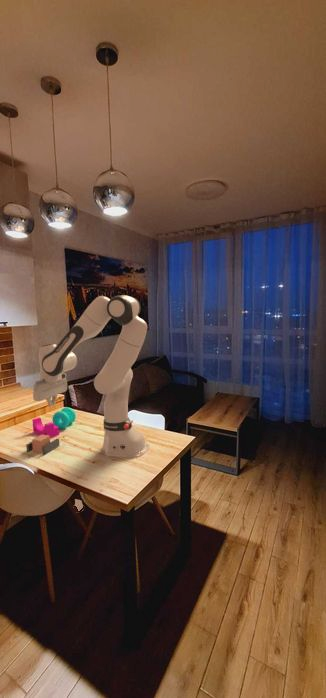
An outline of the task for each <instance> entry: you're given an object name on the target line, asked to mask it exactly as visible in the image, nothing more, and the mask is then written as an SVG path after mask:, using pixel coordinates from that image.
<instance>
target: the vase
mask: <svg viewBox="0 0 326 698" xmlns="http://www.w3.org/2000/svg"><path fill="white" fill-rule="evenodd" d="M74 506H76V507H77V509H78V511H80V510H81V509H82V508H83V506H84V504H83V501H82V500H80V499H76V498H75V499H74Z"/></svg>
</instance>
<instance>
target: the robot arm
mask: <svg viewBox="0 0 326 698" xmlns="http://www.w3.org/2000/svg"><path fill="white" fill-rule="evenodd" d="M141 310H142V307H141V303H140V301H139V300H138V299H137V298H136V297H134V296H129V295H125V294H122V295H115V296H113V297H112V298H110V297H107V296H105V295H99V296H97V297H96V298H94V300H92V302H91V303H90V304H89V305H88V306H87V308H86V309H85V310H84V311H83V313H82V314H81V316H80V317H79V318H78V320H77V321H76V323H74V325H73V326H72V327H71V328H70V329H69V330H68V332H67V333H66V334H65V335H64V336H63V338H62V339H61V340H60V341H59V343H58V344H56V343H50V344H49V343H48V344H43V345H41V346H40V347H39V349H38V364H39V366H40V367H39V368H40V369H39V379H40V380H37V381H35V383H34V384H33V392H32V398H33V400H34V401H36V402H41V401H44V400H46V402H47V406H48V407H51V406H54V405H56V400H57V397H58V395H60V394H62V393H65V392H67V390H68V381H67V374H66V372H68V371H71V370H73V369H75V368H76V367H77V364H78V356H77V355H76V354H75V353H74V352H73V350H74V349H75V348H76V347H77V346H78V345H79V344H81V343H82V342H85V341H87V340H90V339H92V338H94V337H97V336H98V335H99V334H100V333H101V332H102V331H103V329H104V328H105V326H106V325H107V324H108V322H109V321H110V320H111V319H112V320H114V321H115V322H116V323H117V325H119V326H122V327H121V332H119V333H120V334H119V335H118V339H117V341H116V343H115V346H114V348H113V350H112V352H111V354H110V356H109V357H108V359H107V360H106V361H105V363H104V365H103V367H101V369H100V371H99V372H98V373H97V375H96V376H95V377H94V380H93V385H94V386H93V387H94V388H95V390H96V391H97V392H98V393H100V394H102V395H106V397H105V400H104V402H103V415H104V416H103V418H104V419H103V430H104V433H103V435H104V436H103V443H102V447H101V450H102V451H103V452H104V453H105V456H106V457H116V458H117V457H119V458H121V457H124V458H140V457H142V456H143V455H145V454H146V453H147V452H148V451H149V449H150V448H151V447H150V443H148V442H146V440H145V435H144V434H143V433H142V432H141V431H139V430H138V429H136V428H135V427H134V426H133V423H134V419H130V418H129V407H128V405H129V395H130V389H131V382H132V379H133V377H134V373H133V370H132V367H133V365H134V364H135V362H136V361H137V359H138V357H139V353H140V352H141V349H142V347H143V345H144V342H145V339H146V336H147V331H148V324H147V322H146V321H145V320H144V319H143V318H141V317H139V315H140V313H141Z"/></svg>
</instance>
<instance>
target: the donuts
mask: <svg viewBox="0 0 326 698" xmlns="http://www.w3.org/2000/svg"><path fill="white" fill-rule="evenodd" d="M76 418H77V415H76V412H75V410H74V409H73V408H71V407H68V406H65V407H63V408H62V409H61V410H59V411H56V412H55V413H53V415H52V418H51V419H52V420H51V422H52V423H54V426H57V427H59V430H63V429H66V428H67V427H68V426H69V425H73V423H74V422H75V421H76Z"/></svg>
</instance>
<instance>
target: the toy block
mask: <svg viewBox="0 0 326 698" xmlns="http://www.w3.org/2000/svg"><path fill="white" fill-rule="evenodd" d="M31 421H32V432H33V433H34V434H35V435H37V436H40V435H48V436H50V439H53V438H55V437H57V436H60V429H59V427H57V426H55V425H54V423H53V421H50V422H47V423H44V424H43V422H42V418H41V417H36V418H33V419H32V420H31Z"/></svg>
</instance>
